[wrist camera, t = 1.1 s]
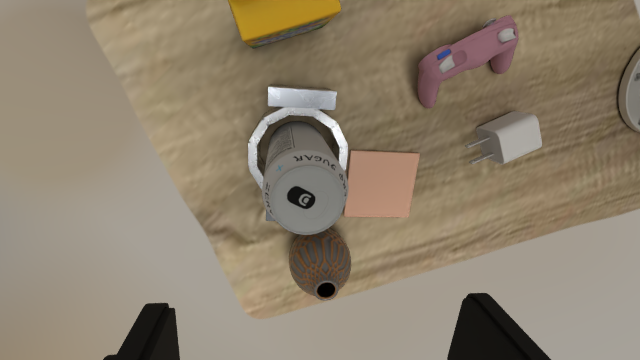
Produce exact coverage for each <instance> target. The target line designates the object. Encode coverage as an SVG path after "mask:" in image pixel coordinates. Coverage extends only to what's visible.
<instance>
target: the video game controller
mask: <svg viewBox="0 0 640 360" xmlns="http://www.w3.org/2000/svg"><path fill="white" fill-rule="evenodd" d="M495 20H496V18H493V19H489V20H488V21H486V22H485V24H484V25H483V28H484V29H482V30H480V31H478V32H475V33H473V34H472V35H470V36H468V37H466V38H464V39H462V40H460V41H458V42H457V43H455V44H453V45H451V44H448V45H444V46H442V47H439V48H437V49H436V50H434V51H432V52H431V53H430V54H428V55H427V56H426V57H424V58H423V59H422V60H421V61H420V63H419V65H418V67H419V70H420V71H419V77H418V95H419V99H420V102H421V104H422V105H423V106H424V107H426V108H432V107H433V106H434V104H435V102H436V97H437V92H438V88H439V85H440V83H441V82H442V81H444V80H446V79H448V78H450V77H453V76H455V75H457V74H458V73H460V72H462V71H464V70H470V69H474V68H477V67H480V66H482V65H484V64H485V63H486V62H488V61H489V60H490V61H491V66H492V69H493V71H494V72H496V73H497V74H502V73H504V72H506V71H507V69H508V68H509V66H510V64H511V61H512V58H513V54H514V50H515V48H516V45H517V43H518V30H517V27H516V24H515V22H514V20H513V18H512V17H511V16H505V17H502V18H500V19H498V20H497V21H495ZM494 21H495V22H494Z"/></svg>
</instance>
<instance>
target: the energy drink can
mask: <svg viewBox="0 0 640 360" xmlns="http://www.w3.org/2000/svg"><path fill="white" fill-rule="evenodd" d="M348 190H349V187H348V180H347V177H346V174H345V172H344V170H343V169H342V167H341V165H340V164H339V162H338V161H337V159H336V157H335V156H334V154H333V153H332V151H331V149H330V148H329V146H328V145H327V143H326V142H325V140H324V138H323V137H322V135H321V134H320V132H319V131H318V130H317V129H316V128H315V127H313V126H312V125H310V124H308V123H305V122H301V121H294V122H289V123H286V124H284V125H282V126H280V127H279V128H278V129H277V130H276V131H275V132H274V134H273V135H272V137H271V139H270V142H269V147H268V154H267V160H266V166H265V172H264V179H263V185H262V198H263V202H264V205H265V207H266V209H267V211H268V212H269V214H270V215H271V216H272V218H274V219H275V220H276V221H277V222H278V223H279V224H280V225H281V226H282V227H283V228H285V229H287V230H288V231H290V232H293V233H296V234H302V235H311V234H316V233H319V232H322V231H324V230H326V229H328V228H329V227H331V226H332V225H333V224H334V223H335V222H336V221H337V219H338V218H339V217H340V215H341V213H342V211H343V208H344V206H345V204H346V201H347V198H348Z"/></svg>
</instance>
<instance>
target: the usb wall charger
mask: <svg viewBox="0 0 640 360" xmlns="http://www.w3.org/2000/svg"><path fill="white" fill-rule="evenodd" d="M476 130H477V134H478V138H479V139H478V140H475V141H473V142H471V143H469V144H467V145H465V147H467V148H469V147H472V146H474V145H477V144H479V143H480V147H481V151H482V154H483V155H482V156H480V157H477V158H475V159H473V160H471V161H469V163H471V164H474V163H476V162H479V161H481V160H484V159H486V158H487V159H490V160H492V161H495V162H497V163H499V164H505V163H507V162H509V161H511V160H514V159H516V158H518V157H520V156H523V155H525V154H527V153H529V152H532V151H534V150H536V149H538V148H541V146H542V141H541V135H540V129H539V122H538V119H537V117H536V116H535V115H533V114H529V113H523V112H517V111H513V112H510V113H508V114H506V115H504V116H501V117H499V118H497V119H495V120H493V121H490V122H488V123H486V124H484V125H481V126H479V127H477V129H476ZM468 145H470V146H468ZM473 161H475V162H473Z"/></svg>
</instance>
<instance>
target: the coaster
mask: <svg viewBox="0 0 640 360" xmlns="http://www.w3.org/2000/svg"><path fill="white" fill-rule="evenodd" d="M419 156H420V154H419V153H412V152H388V151H365V150H350V158H349V167H348V177H347V180H348V187H349V190H348V198H347V201H346V204H345V206H344V216H345V217H409V211H410V206H411V200H412V194H413V189H414V183H415V178H416V172H417V167H418V161H419Z"/></svg>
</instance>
